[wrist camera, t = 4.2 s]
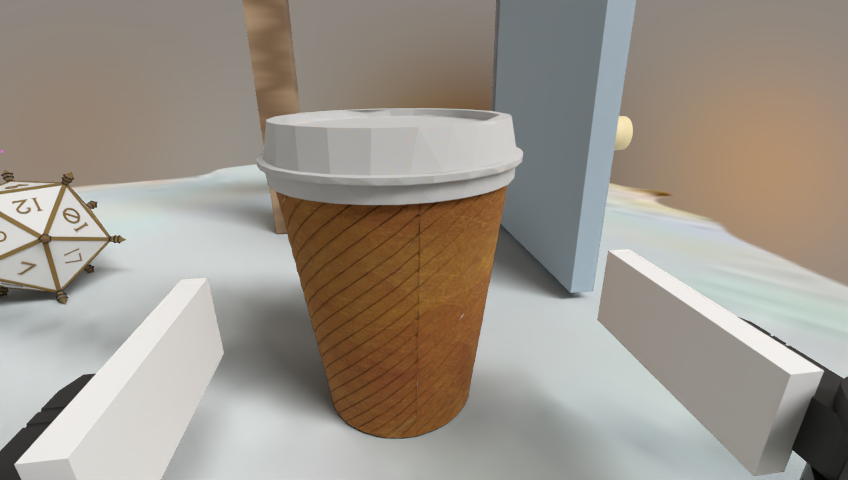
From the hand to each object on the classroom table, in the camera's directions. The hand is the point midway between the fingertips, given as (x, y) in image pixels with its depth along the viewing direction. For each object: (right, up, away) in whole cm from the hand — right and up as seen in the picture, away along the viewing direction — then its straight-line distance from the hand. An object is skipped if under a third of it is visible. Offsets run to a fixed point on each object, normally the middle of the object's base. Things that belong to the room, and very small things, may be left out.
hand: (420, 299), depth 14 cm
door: (+10, +2, +21) cm, 23 cm away
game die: (-25, -2, +15) cm, 29 cm away
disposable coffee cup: (-1, -5, +6) cm, 8 cm away
